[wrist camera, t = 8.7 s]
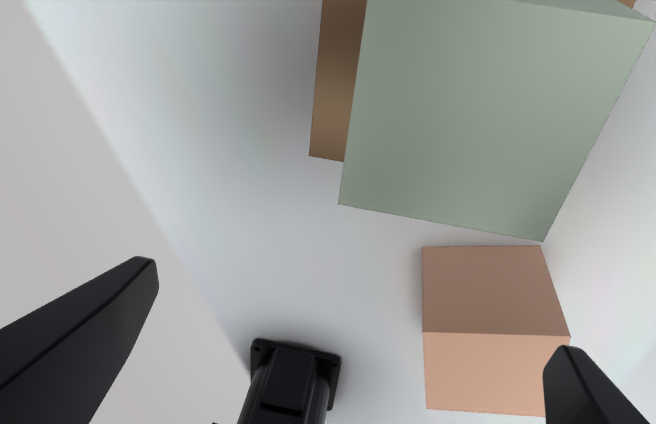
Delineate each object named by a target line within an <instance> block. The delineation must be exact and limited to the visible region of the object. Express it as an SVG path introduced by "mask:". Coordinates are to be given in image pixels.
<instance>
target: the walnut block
mask: <svg viewBox="0 0 656 424" xmlns="http://www.w3.org/2000/svg"><path fill="white" fill-rule="evenodd" d="M616 1H618V2H620V3H622V4H624V5H626V6H628V7H629V8H631V9H632V8H633V5H634V3H635V1H636V0H616ZM366 6H367V0H323V3H322V14H321V25H320V37H319V48H318V59H317V70H316V82H315V93H314V104H313V115H312V126H311V138H310V149H309V156H312V157H318V158H324V159H329V160H335V161H341V162H344V158H345V151H346V145H347V138H348V131H349V124H350V117H351V110H352V103H353V96H354V89H355V82H356V75H357V68H358V61H359V55H360V48H361V41H362V34H363V27H364V20H365V13H366Z"/></svg>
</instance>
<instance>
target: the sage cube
mask: <svg viewBox="0 0 656 424" xmlns="http://www.w3.org/2000/svg"><path fill="white" fill-rule="evenodd" d="M655 25H656V22H655V21H653V20H651V19H650V18H648V17H646V16H644V15H642V14H640V13H639V12H637V11H635V10H633V9H631V8H629V7H628V6H626V5H624V4H622V3H620V2H618V1H616V0H367V6H366V13H365V20H364V27H363V34H362V41H361V48H360V55H359V61H358V68H357V75H356V82H355V89H354V96H353V103H352V110H351V117H350V124H349V131H348V138H347V145H346V151H345V158H344V165H343V172H342V179H341V186H340V193H339V200H338V204H339V205H345V206H350V207H355V208H361V209H366V210H372V211H377V212H383V213H388V214H393V215H399V216H404V217H410V218H415V219H420V220H426V221H431V222H437V223H442V224H448V225H453V226H458V227H464V228H469V229H475V230H480V231H485V232H491V233H496V234H502V235H507V236H513V237H518V238H523V239H529V240H534V241H540V242H543V241H544V239H545V237H546V235H547V233H548V231H549V229H550V227H551V225H552V223H553V222H554V220H555V218H556V216H557V214H558V212H559V210H560V208H561V206H562V204H563V202H564V200H565V198H566V197H567V195H568V193H569V191H570V189H571V187H572V185H573V183H574V181H575V179H576V177H577V175H578V173H579V171H580V170H581V168H582V166H583V164H584V162H585V160H586V158H587V156H588V154H589V152H590V150H591V148H592V146H593V145H594V143H595V141H596V139H597V137H598V135H599V133H600V131H601V129H602V127H603V125H604V123H605V121H606V120H607V118H608V116H609V114H610V112H611V110H612V108H613V106H614V104H615V102H616V100H617V98H618V96H619V94H620V93H621V91H622V89H623V87H624V85H625V83H626V81H627V79H628V77H629V75H630V73H631V71H632V69H633V68H634V66H635V64H636V62H637V60H638V58H639V56H640V54H641V52H642V50H643V48H644V46H645V44H646V43H647V41H648V39H649V37H650V35H651V33H652V31H653V29H654V27H655Z"/></svg>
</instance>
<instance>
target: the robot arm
mask: <svg viewBox="0 0 656 424" xmlns="http://www.w3.org/2000/svg"><path fill="white" fill-rule="evenodd" d="M158 290H159V281H158V274H157V267H156V263H155V261H154V260H153V259H151V258H146V257H141V256H135V257H133V258H131V259H129V260H127V261H125V262H123V263H121V264H120V265H118V266H116V267H114V268H112V269H110V270H109V271H107V272H105V273H103V274H101V275H99V276H97V277H96V278H94V279H92V280H90V281H88V282H86V283H84V284H83V285H81V286H79V287H77V288H75V289H73V290H72V291H70V292H68V293H66V294H64V295H63V296H60V297H59V298H57V299H55V300H53V301H51V302H49V303H48V304H46V305H44V306H42V307H40V308H38V309H36V310H35V311H33V312H31V313H29V314H27V315H25V316H24V317H22V318H20V319H18V320H16V321H14V322H13V323H11V324H9V325H7V326H5V327H3V328H1V329H0V424H89V422H90V421H91V419H92V417H93V416H94V414H95V412H96V410H97V409H98V407H99V406H100V404H101V402H102V401H103V399H104V397H105V396H106V394H107V392H108V390H109V389H110V387H111V385H112V384H113V382H114V380H115V379H116V377H117V375H118V374H119V372H120V370H121V369H122V367H123V365H124V364H125V362H126V360H127V358H128V356H129V355H130V353H131V350H132V349H133V347H134V345H135V342H136V340H137V338H138V336H139V333H140V331H141V329H142V327H143V325H144V323H145V320H146V318H147V316H148V314H149V312H150V309H151V307H152V305H153V303H154V300H155V298H156V296H157V294H158ZM340 368H341V359H340V358H339V357H337V356H333V355H328V354H323V353H319V352H314V351H309V350H304V349H300V348H295V347H290V346H285V345H281V344H276V343H271V342H266V341H262V340H254V341H253V342H252V345H251V385H250V388H249V390H248V393H247V396H246V399H245V402H244V405H243V408H242V411H241V414H240V416H239V419H238V422H237V424H324V422H325V417H326V411H330V410H332V407H333V402H334V397H335V392H336V387H337V382H338V377H339V373H340ZM542 379H543V392H544V405H545V418H546V424H650V423H649V422H648V421H647V420H646V419H645V418H644V417H643V415H642V414H641V413H640V412H639V411H638V410H637V409H636V408H635V407H634V406H633V405H632V403H631V402H630V401H629V400H628V399H627V398H626V397H625V396H624V394H623V393H622V392H621V391H620V390H619V389H618V388H617V387H616V386H615V385H614V383H613V382H612V381H611V380H610V379H609V378H608V377H607V376H606V375H605V373H604V372H603V371H602V370H601V369H600V368H599V367H598V366H597V365H596V364H595V362H594V361H593V360H592V359H591V358H590V357H589V356H588V355H587V354H586V352H585V351H583V350H582V349H580V348H578V347H573V346H568V345H560V346H558V347H557V349H556V350H555V352H554V353H553V355H552V356H551V358H550V359H549V361H548V362H547V364H546V365H545V367H544V369H543V375H542ZM212 424H217V423H212Z"/></svg>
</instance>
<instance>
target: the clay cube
mask: <svg viewBox="0 0 656 424" xmlns="http://www.w3.org/2000/svg"><path fill="white" fill-rule="evenodd" d="M422 326H423V351H424V370H425V390H426V409H435V410H449V411H464V412H478V413H493V414H507V415H522V416H536V417H545V405H544V392H543V379H542V375H543V369H544V367H545V365H546V364H547V362H548V361H549V359H550V358H551V356H552V355H553V353H554V352H555V350H556V349H557V347H558V346H560V345H568V346H569V342H570V338H571V336H570V333H569V330H568V327H567V324H566V321H565V318H564V315H563V312H562V309H561V306H560V303H559V300H558V297H557V294H556V291H555V289H554V286H553V283H552V280H551V277H550V274H549V271H548V268H547V265H546V262H545V259H544V256H543V253H542V250H541V247H540V245H538V246H449V247H422Z"/></svg>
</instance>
